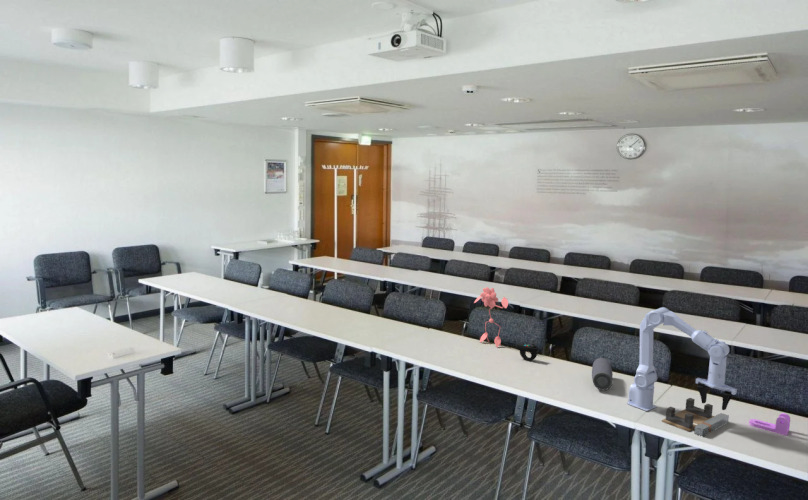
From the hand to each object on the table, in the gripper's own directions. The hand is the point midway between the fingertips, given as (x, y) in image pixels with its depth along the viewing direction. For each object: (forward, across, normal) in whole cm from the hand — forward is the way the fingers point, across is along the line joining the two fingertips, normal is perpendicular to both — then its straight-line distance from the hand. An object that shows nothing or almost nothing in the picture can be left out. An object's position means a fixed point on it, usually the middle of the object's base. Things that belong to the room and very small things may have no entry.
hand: (713, 406), depth 216 cm
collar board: (+9, -9, 0) cm, 13 cm away
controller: (+9, -97, +2) cm, 97 cm away
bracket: (+10, +13, +19) cm, 25 cm away
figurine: (+9, -127, +2) cm, 127 cm away
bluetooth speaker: (+9, -53, +5) cm, 54 cm away
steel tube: (+9, 0, 0) cm, 9 cm away
